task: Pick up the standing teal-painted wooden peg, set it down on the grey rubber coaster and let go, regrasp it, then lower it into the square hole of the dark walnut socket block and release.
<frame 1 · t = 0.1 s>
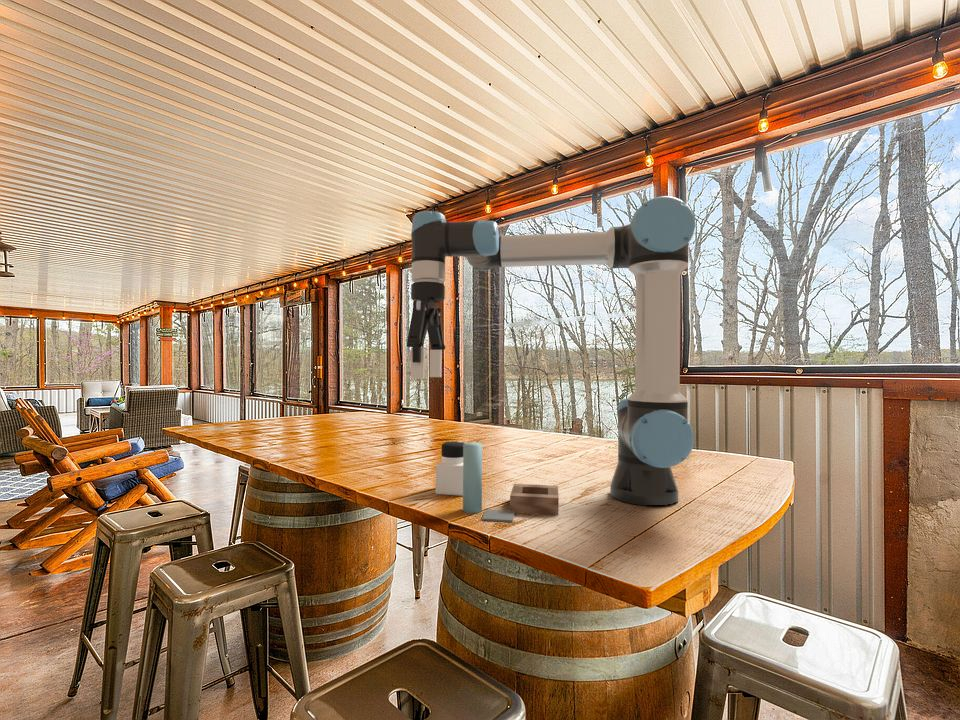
hand: (427, 378, 105), 28 cm above the table, fingers open, 13 cm apart
coaster: (498, 516, 95), on the table
medicine bottle: (453, 492, 114), on the table
socket block: (534, 506, 102), on the table
peg: (472, 510, 99), on the table
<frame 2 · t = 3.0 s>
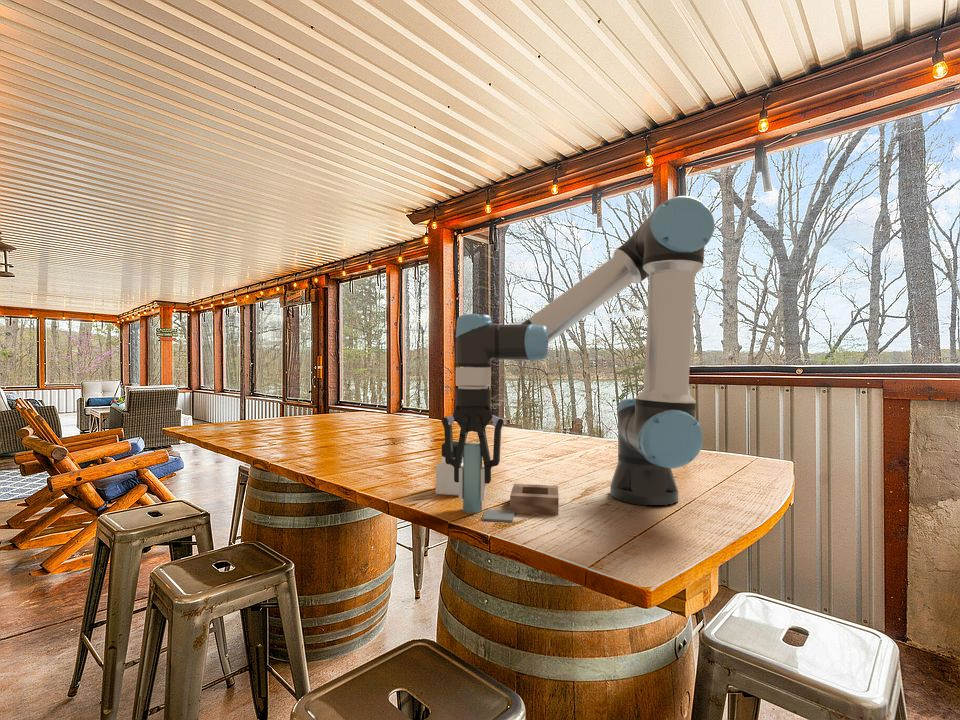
hand: (472, 497, 99), 3 cm above the table, fingers closed on peg, 4 cm apart
peg: (472, 510, 99), on the table, touching gripper
everything else where it was.
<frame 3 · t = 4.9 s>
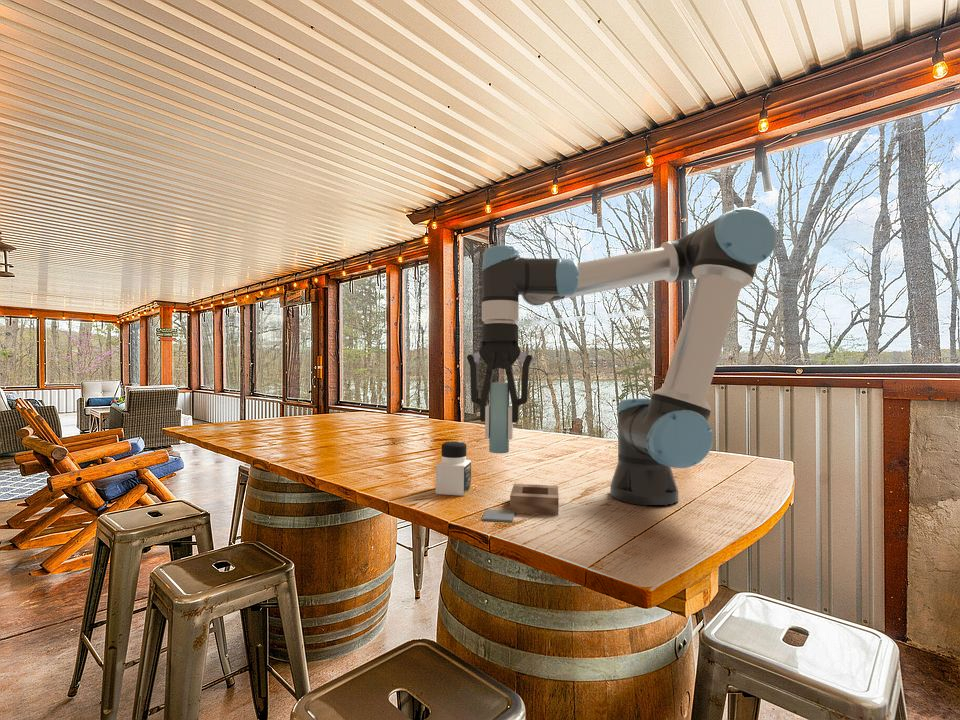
hand: (499, 437, 95), 16 cm above the table, fingers closed on peg, 4 cm apart
peg: (498, 451, 95), point 13 cm above the table, touching gripper
everything else where it was.
when the fingers open (4 cm above the table, at t = 7.2 s): peg stays where it is, resting on coaster.
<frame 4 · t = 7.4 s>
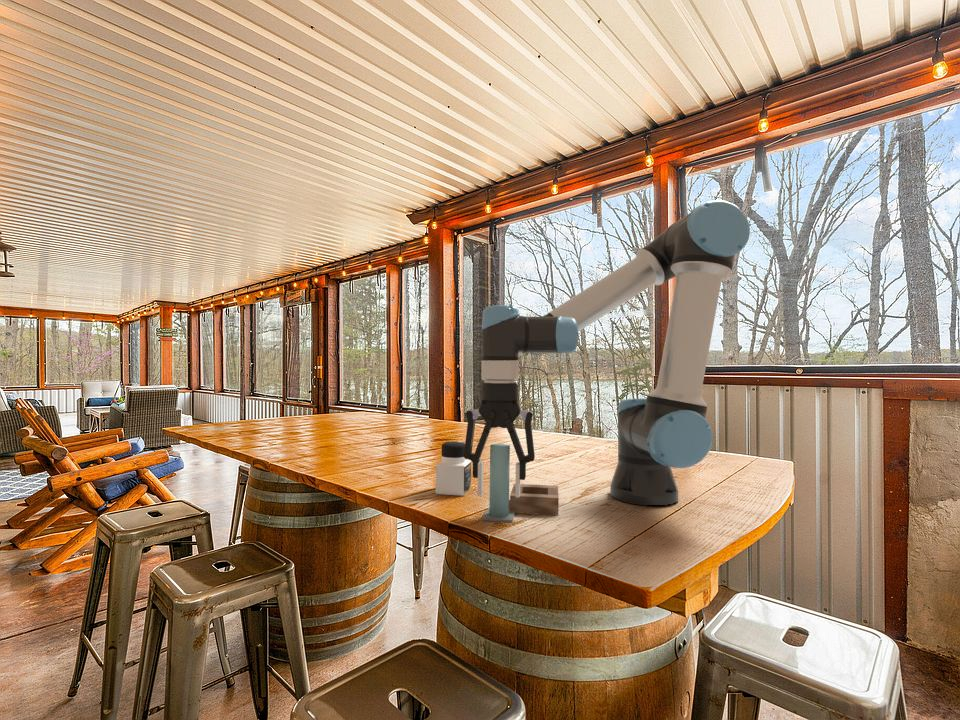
hand: (499, 494, 95), 4 cm above the table, fingers open, 7 cm apart
peg: (499, 514, 95), resting on coaster
everything else where it was.
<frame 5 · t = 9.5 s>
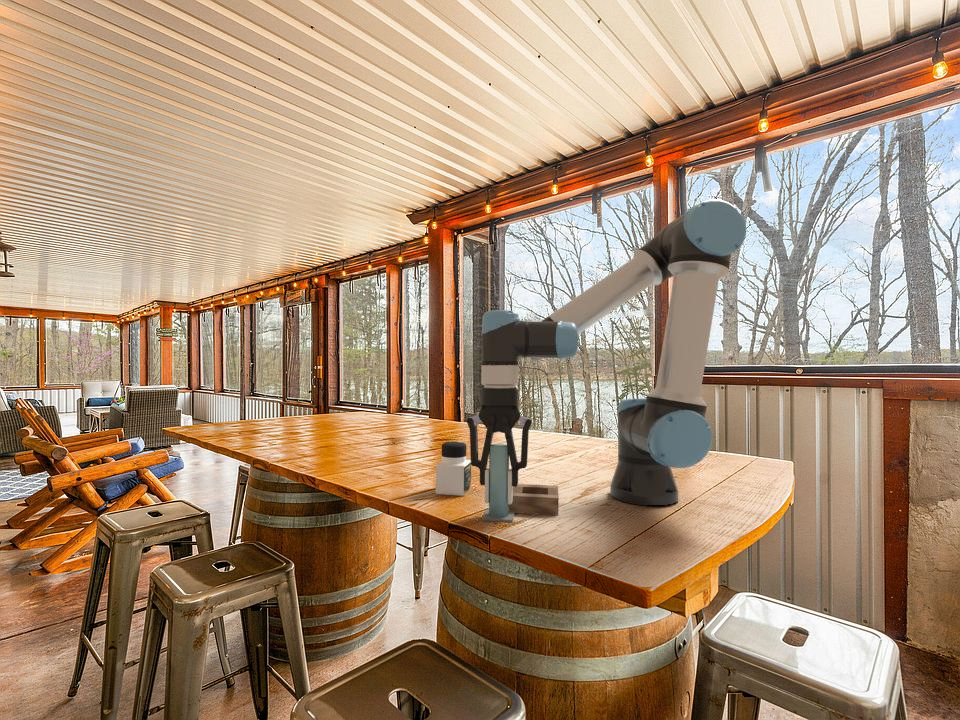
hand: (498, 501, 95), 3 cm above the table, fingers closed on peg, 4 cm apart
peg: (498, 514, 95), resting on coaster, touching gripper
everything else where it was.
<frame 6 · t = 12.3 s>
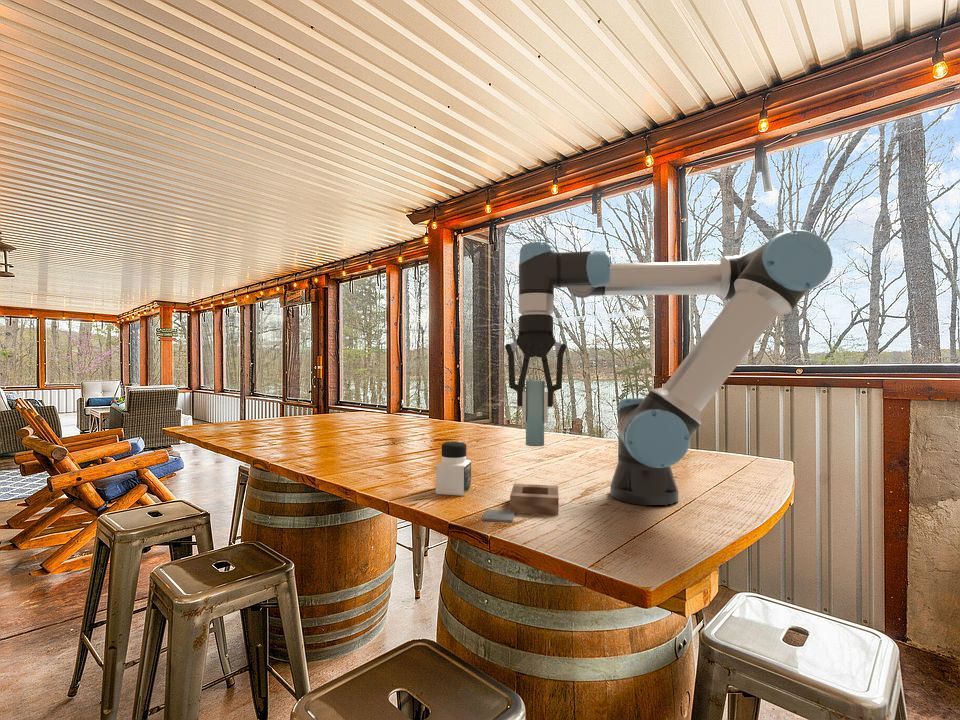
hand: (535, 421, 102), 19 cm above the table, fingers closed on peg, 4 cm apart
peg: (534, 444, 102), point 13 cm above the table, touching gripper
everything else where it was.
when the fingers open (5 cm above the table, at t = 15.5 s): peg stays where it is, resting in socket block.
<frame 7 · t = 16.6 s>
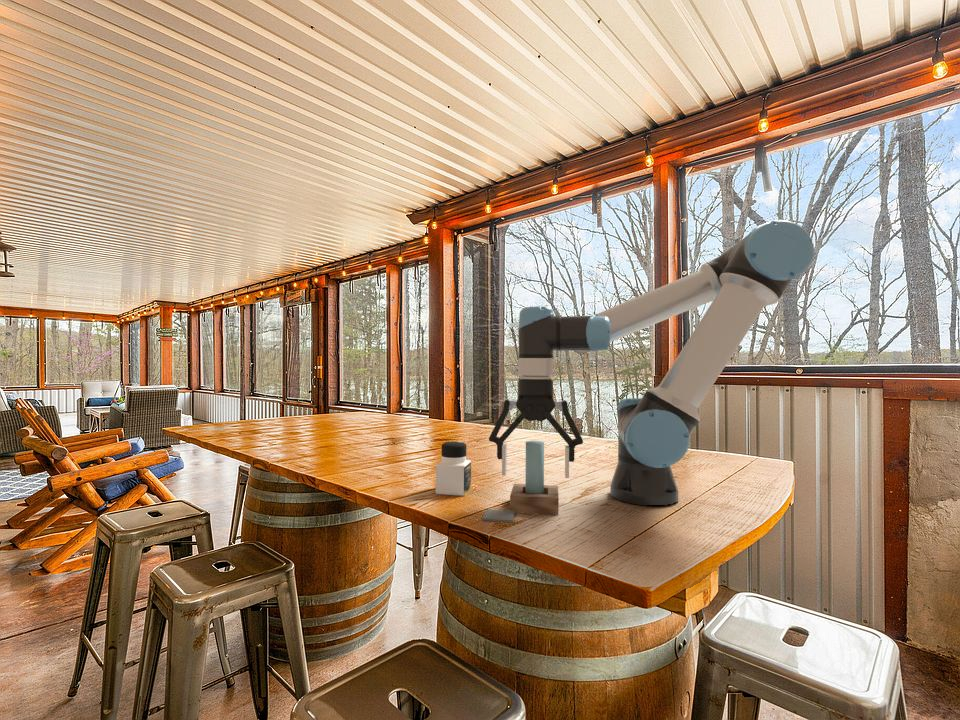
hand: (535, 475, 102), 7 cm above the table, fingers open, 13 cm apart
peg: (534, 506, 102), resting in socket block
everything else where it was.
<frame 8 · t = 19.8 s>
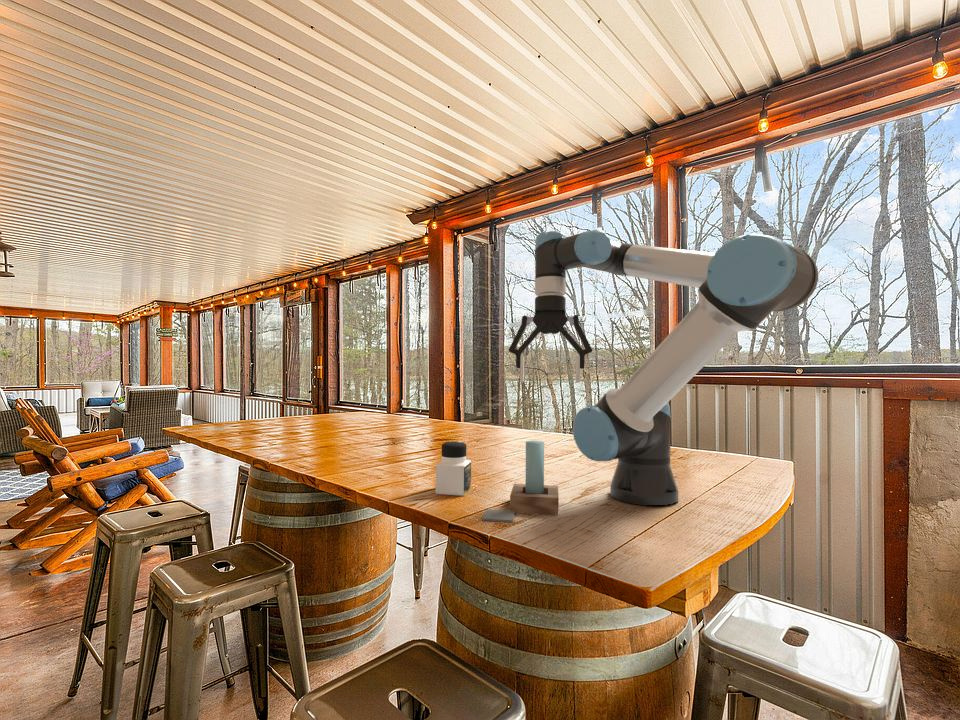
hand: (549, 382, 116), 27 cm above the table, fingers open, 13 cm apart
nothing on the table moved.
at the end: peg 0.1 cm off-centre on the socket block, point 0.0 cm above the socket block's base; peg tilted 0°; the gripper is holding nothing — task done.
